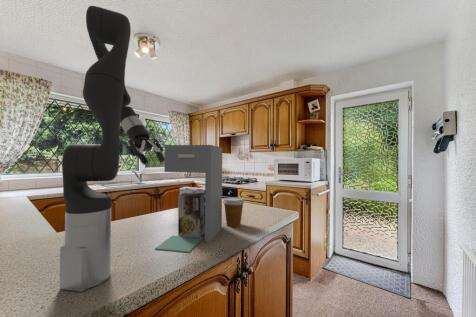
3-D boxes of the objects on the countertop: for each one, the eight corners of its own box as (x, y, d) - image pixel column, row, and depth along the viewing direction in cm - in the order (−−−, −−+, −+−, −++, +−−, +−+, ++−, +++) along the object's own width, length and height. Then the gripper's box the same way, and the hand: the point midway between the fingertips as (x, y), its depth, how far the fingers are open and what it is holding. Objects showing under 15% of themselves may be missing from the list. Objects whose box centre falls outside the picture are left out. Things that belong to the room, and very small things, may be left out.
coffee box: (204, 231, 87) (205, 192, 87) (200, 237, 80) (200, 195, 80) (183, 231, 87) (183, 192, 88) (177, 236, 81) (177, 194, 81)
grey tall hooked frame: (209, 243, 74) (210, 144, 74) (162, 240, 77) (163, 144, 78) (221, 228, 91) (222, 147, 91) (182, 225, 94) (183, 147, 94)
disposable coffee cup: (219, 227, 93) (220, 199, 93) (227, 221, 102) (227, 196, 102) (240, 229, 90) (240, 201, 90) (246, 223, 99) (246, 197, 99)
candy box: (177, 223, 99) (178, 187, 99) (184, 219, 104) (184, 186, 104) (204, 225, 95) (205, 189, 95) (210, 222, 100) (210, 187, 100)
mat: (189, 252, 67) (189, 251, 67) (154, 249, 69) (154, 248, 69) (202, 238, 79) (202, 237, 79) (172, 236, 81) (172, 235, 81)
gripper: (124, 123, 78) (145, 158, 75) (153, 124, 91) (173, 155, 88) (114, 135, 81) (134, 170, 78) (144, 135, 94) (162, 165, 91)
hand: (154, 162), depth 83 cm, fingers open, 8 cm apart
